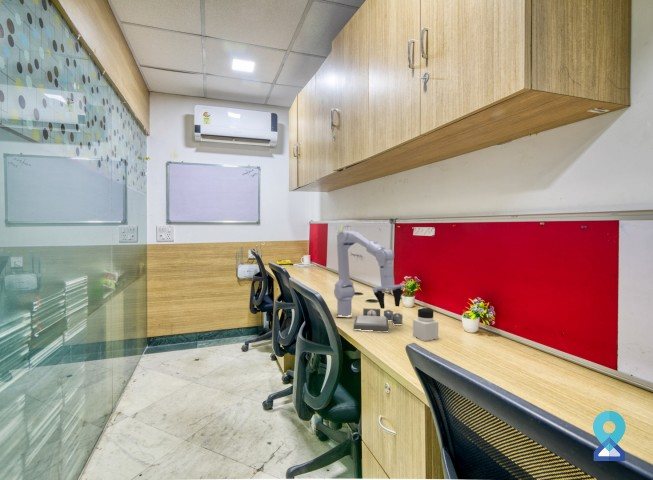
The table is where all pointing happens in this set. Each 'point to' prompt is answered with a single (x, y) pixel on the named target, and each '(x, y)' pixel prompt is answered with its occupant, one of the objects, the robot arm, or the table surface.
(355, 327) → the scale
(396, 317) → the cylinder
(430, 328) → the medicine bottle
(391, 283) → the robot arm
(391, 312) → the weight
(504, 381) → the table surface
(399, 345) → the table surface
